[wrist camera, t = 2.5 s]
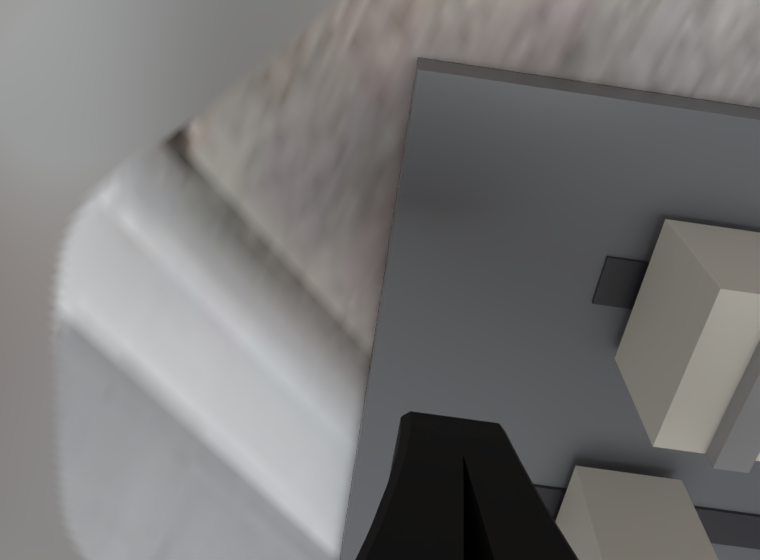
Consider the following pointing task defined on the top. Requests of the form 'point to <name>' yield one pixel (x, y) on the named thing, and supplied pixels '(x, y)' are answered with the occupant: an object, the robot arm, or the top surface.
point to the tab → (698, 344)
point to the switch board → (546, 276)
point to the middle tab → (631, 518)
